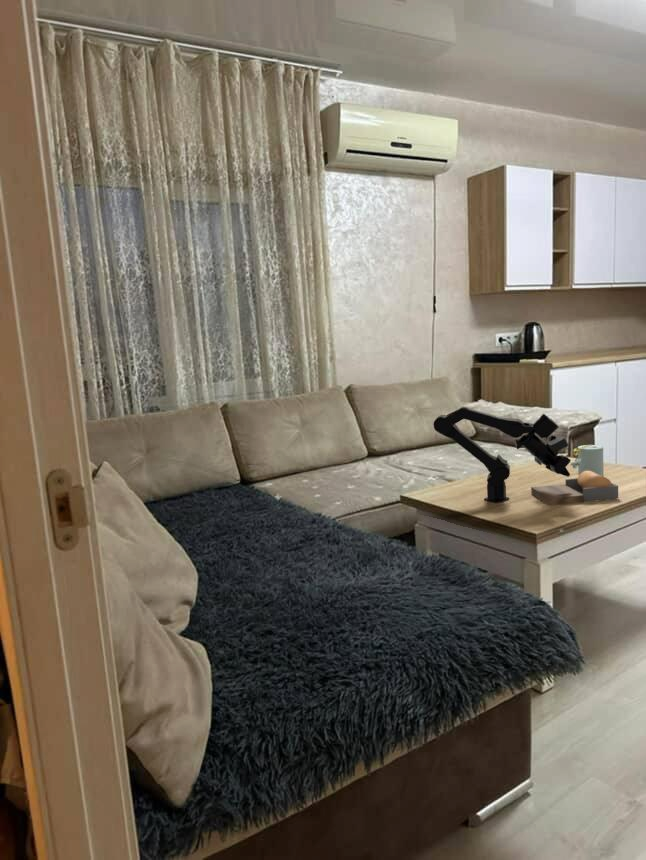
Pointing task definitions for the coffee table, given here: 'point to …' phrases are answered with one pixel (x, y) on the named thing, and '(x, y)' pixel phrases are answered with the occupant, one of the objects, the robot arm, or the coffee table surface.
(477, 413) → the robot arm
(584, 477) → the roller
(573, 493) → the board
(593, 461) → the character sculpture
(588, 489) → the tray
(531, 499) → the coffee table surface
